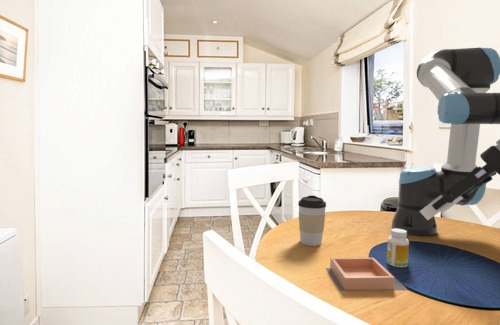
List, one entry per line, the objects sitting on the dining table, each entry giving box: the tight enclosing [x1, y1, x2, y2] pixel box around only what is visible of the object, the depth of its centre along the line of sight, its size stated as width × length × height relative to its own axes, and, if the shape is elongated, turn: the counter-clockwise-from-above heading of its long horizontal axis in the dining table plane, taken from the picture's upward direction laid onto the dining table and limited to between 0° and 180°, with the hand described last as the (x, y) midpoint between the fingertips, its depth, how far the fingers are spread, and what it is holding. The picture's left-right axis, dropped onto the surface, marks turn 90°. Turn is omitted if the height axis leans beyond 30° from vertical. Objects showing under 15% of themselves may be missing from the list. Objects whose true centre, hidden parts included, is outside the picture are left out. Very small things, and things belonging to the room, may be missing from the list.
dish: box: [329, 257, 396, 291], centre depth 81 cm, size 12×12×3 cm
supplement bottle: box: [386, 228, 410, 268], centre depth 90 cm, size 5×5×10 cm
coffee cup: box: [297, 195, 327, 247], centre depth 107 cm, size 9×9×15 cm
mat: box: [325, 267, 409, 292], centre depth 81 cm, size 16×12×1 cm
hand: (431, 212), depth 84 cm, fingers open, 13 cm apart
